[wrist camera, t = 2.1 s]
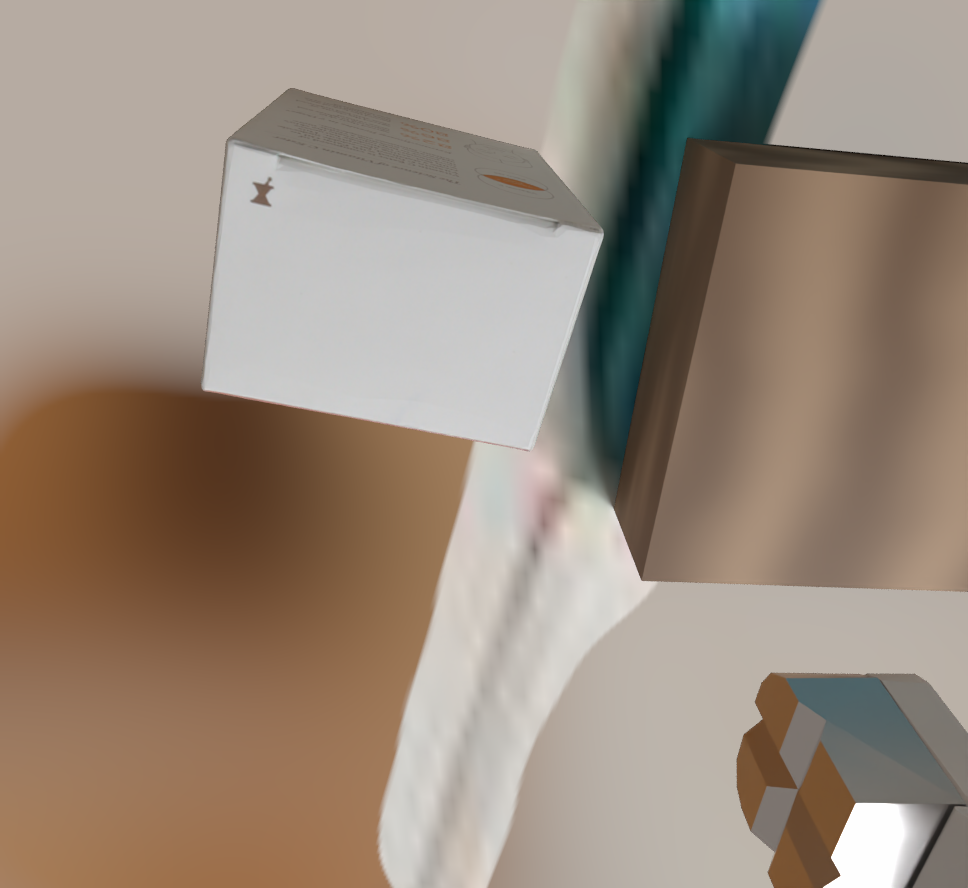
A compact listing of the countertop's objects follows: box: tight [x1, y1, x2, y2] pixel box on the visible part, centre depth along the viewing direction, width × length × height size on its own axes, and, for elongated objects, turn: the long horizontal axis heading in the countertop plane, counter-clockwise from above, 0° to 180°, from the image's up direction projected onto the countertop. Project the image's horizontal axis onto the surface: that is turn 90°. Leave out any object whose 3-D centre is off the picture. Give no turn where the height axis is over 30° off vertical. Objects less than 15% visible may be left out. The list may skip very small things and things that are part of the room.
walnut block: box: [614, 138, 968, 592], centre depth 29 cm, size 14×14×5 cm
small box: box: [201, 88, 604, 452], centre depth 23 cm, size 8×6×10 cm
